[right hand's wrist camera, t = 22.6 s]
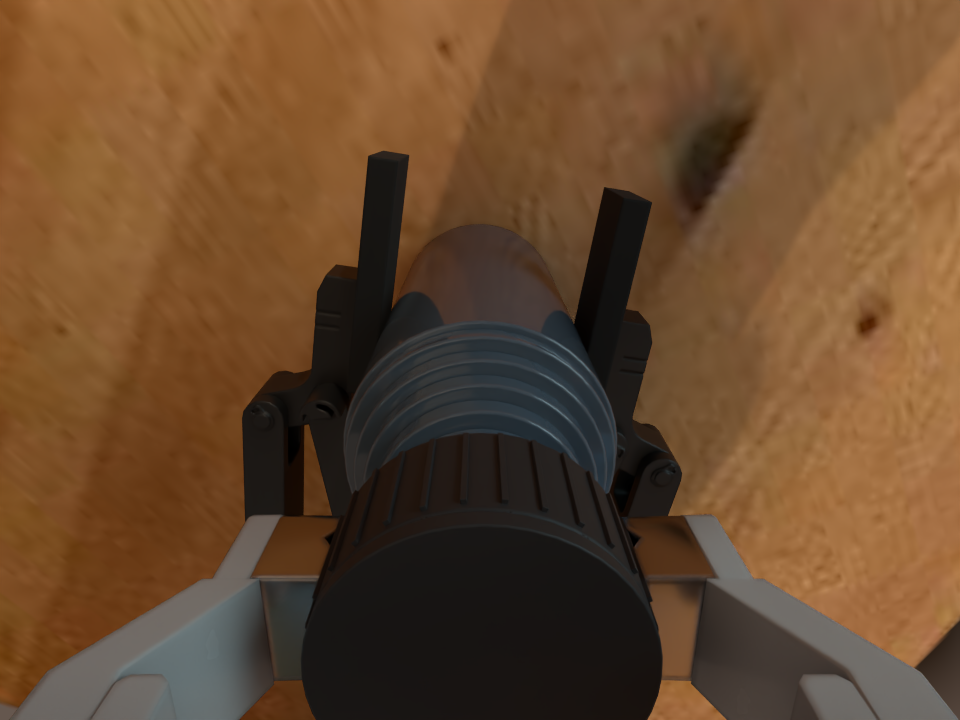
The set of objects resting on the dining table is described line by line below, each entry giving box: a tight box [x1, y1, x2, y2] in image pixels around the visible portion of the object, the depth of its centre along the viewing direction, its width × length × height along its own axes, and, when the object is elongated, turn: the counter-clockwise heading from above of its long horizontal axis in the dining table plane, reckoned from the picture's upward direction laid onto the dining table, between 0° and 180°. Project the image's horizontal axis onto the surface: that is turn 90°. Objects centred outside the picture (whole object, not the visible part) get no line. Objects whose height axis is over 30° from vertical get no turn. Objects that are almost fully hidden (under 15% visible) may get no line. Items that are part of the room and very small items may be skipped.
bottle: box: [343, 224, 617, 494], centre depth 17 cm, size 6×6×18 cm
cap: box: [301, 432, 663, 720], centre depth 9 cm, size 5×5×2 cm
